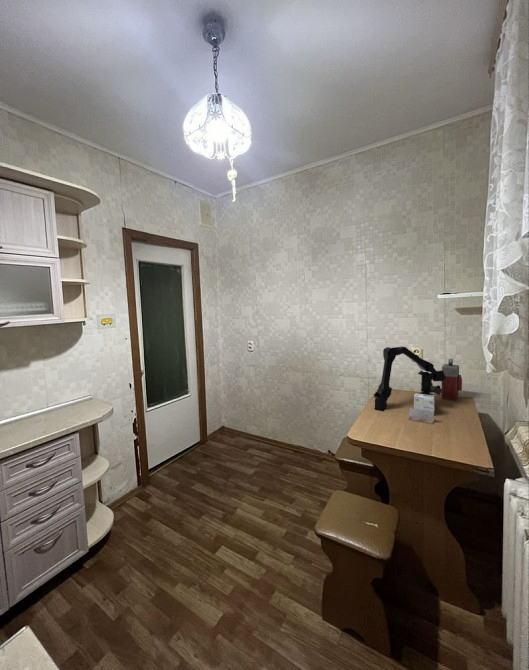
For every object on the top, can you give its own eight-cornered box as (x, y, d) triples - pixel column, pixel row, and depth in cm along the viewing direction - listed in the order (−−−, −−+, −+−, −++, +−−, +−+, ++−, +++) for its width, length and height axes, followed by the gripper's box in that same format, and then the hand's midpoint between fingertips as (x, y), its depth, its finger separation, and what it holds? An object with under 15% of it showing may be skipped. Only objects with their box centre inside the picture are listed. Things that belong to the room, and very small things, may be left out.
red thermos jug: (461, 402, 186) (462, 360, 184) (441, 399, 193) (442, 359, 191) (462, 399, 193) (463, 358, 191) (443, 396, 200) (444, 357, 198)
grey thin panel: (409, 418, 162) (409, 408, 161) (409, 417, 163) (409, 407, 162) (433, 422, 155) (433, 412, 154) (433, 421, 156) (433, 411, 155)
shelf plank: (408, 419, 160) (408, 418, 160) (409, 418, 162) (409, 417, 162) (433, 424, 153) (433, 423, 153) (433, 422, 155) (433, 421, 155)
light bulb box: (434, 412, 170) (434, 395, 169) (434, 416, 164) (434, 398, 163) (414, 409, 175) (414, 392, 174) (413, 413, 170) (413, 395, 169)
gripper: (440, 386, 166) (439, 412, 167) (442, 379, 181) (441, 403, 183) (419, 384, 173) (418, 409, 174) (422, 378, 188) (422, 400, 189)
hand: (426, 405), depth 180 cm, fingers closed
